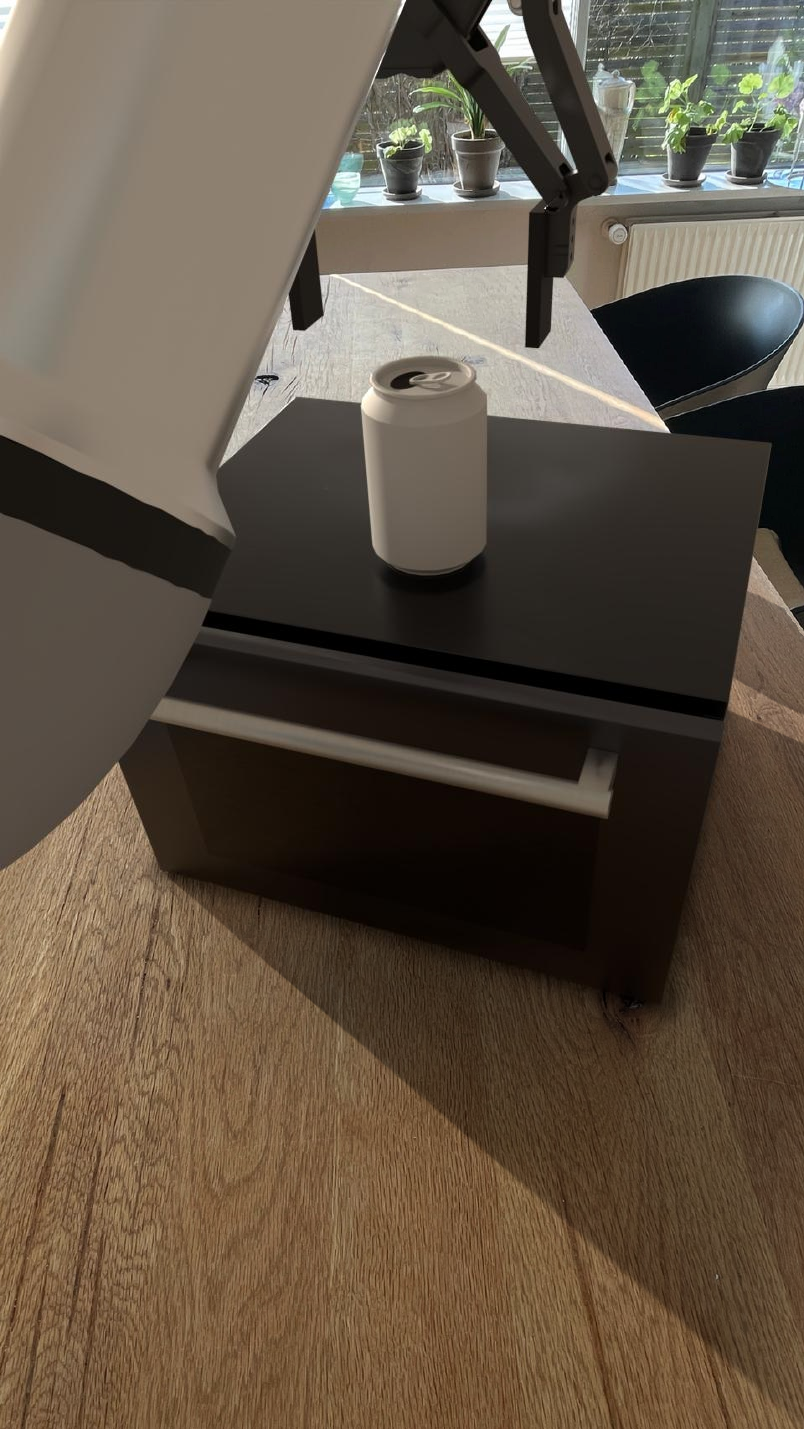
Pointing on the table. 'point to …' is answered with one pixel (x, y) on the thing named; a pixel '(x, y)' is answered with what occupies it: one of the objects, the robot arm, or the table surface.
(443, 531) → the can
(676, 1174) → the table surface
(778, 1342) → the table surface
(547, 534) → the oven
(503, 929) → the oven door
